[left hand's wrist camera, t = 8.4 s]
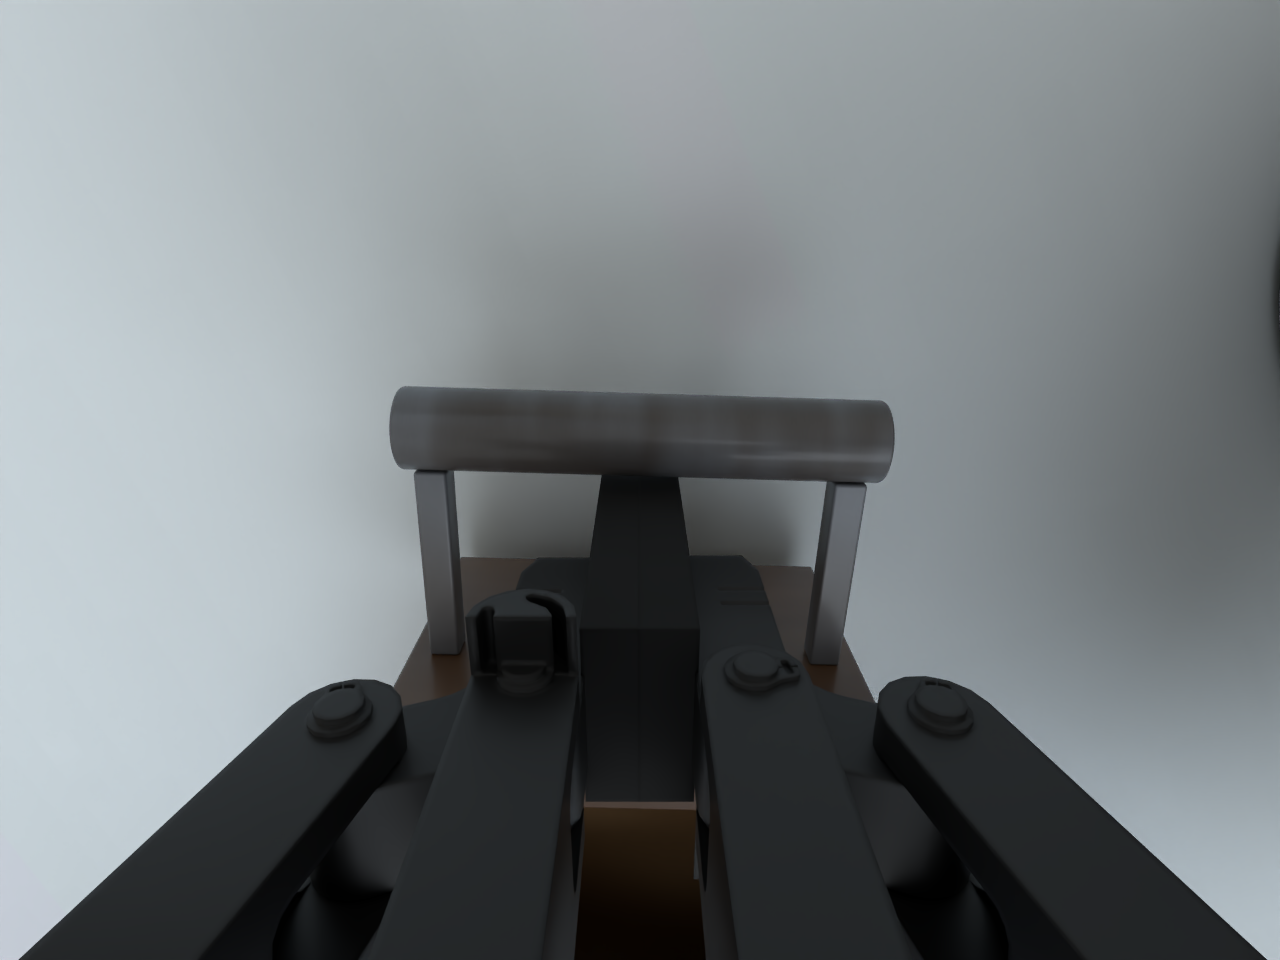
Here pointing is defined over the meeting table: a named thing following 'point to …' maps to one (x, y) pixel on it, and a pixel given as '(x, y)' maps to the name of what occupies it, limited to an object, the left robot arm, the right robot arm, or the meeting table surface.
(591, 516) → the meeting table surface
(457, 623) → the drawer
